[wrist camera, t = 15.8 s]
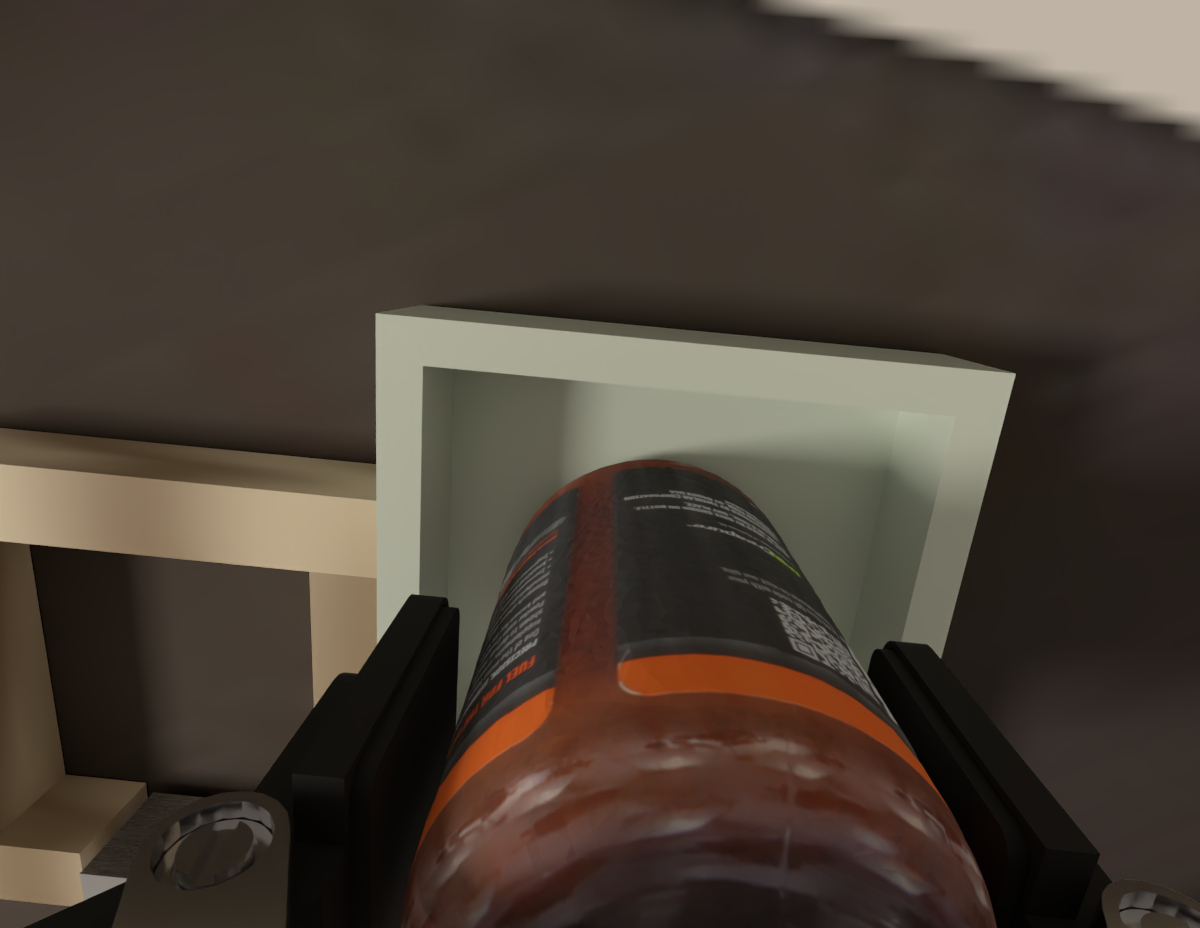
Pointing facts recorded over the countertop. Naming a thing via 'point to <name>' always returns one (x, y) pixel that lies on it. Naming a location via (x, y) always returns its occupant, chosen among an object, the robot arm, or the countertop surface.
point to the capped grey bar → (128, 843)
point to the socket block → (162, 529)
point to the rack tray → (679, 454)
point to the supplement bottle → (678, 738)
